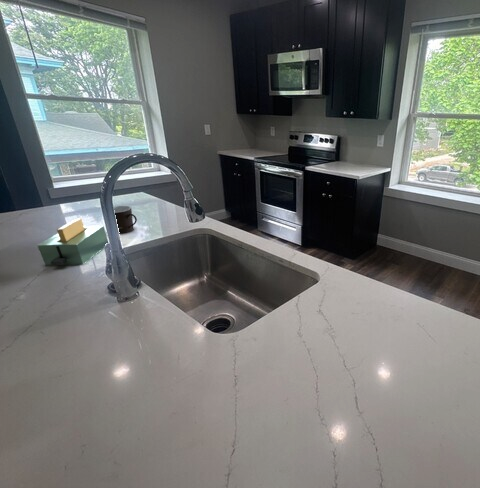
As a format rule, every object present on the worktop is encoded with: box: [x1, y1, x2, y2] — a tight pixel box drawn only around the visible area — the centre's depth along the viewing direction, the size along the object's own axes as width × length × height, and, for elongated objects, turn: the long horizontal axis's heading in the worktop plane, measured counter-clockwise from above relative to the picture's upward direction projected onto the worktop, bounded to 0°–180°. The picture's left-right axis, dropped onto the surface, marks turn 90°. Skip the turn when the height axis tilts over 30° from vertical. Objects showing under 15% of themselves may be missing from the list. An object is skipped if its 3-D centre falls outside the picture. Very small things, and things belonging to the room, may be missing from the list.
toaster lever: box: [51, 258, 67, 266], centre depth 93 cm, size 3×2×1 cm
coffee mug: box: [113, 205, 138, 235], centre depth 120 cm, size 12×9×10 cm
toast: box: [56, 218, 85, 242], centre depth 101 cm, size 2×10×11 cm, turn 8°
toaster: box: [37, 225, 109, 266], centre depth 102 cm, size 11×16×8 cm
